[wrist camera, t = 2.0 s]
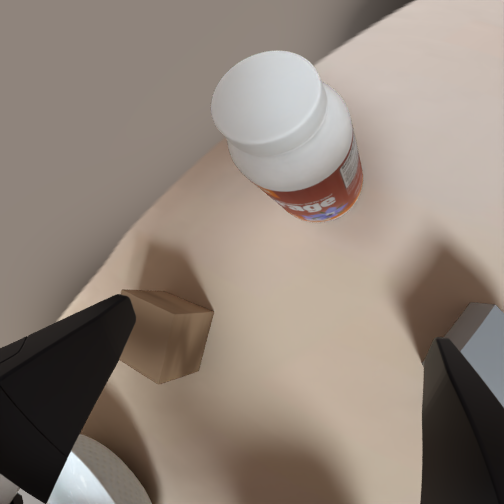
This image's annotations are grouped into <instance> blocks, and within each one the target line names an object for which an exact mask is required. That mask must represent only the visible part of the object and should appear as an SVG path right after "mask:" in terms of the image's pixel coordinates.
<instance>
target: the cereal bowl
mask: <svg viewBox="0 0 504 504" xmlns="http://www.w3.org/2000/svg"><path fill="white" fill-rule="evenodd" d="M48 503H49V504H152V503H151V501H150V498H149V497H148V494H147V493H146V491H145V489H144V488H143V486H142V485H141V483H140V482H139V480H138V479H137V478H136V476H135V475H134V474H133V472H132V471H131V470H130V469H129V468H128V467H127V465H126V464H125V463H124V462H123V461H122V460H121V459H120V458H119V457H118V456H117V455H116V454H114V453H113V452H112V451H111V450H110V449H108V448H107V447H106V446H104V445H102V444H101V443H99V442H98V441H95V440H94V439H92V438H90V437H88V436H85V435H83V434H79V436H78V438H77V440H76V442H75V444H74V446H73V448H72V450H71V452H70V454H69V456H68V458H67V461H66V463H65V465H64V467H63V469H62V471H61V474H60V476H59V478H58V480H57V482H56V484H55V487H54V489H53V491H52V493H51V495H50V498H49V500H48Z"/></svg>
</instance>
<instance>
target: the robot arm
mask: <svg viewBox="0 0 504 504" xmlns="http://www.w3.org/2000/svg"><path fill="white" fill-rule="evenodd" d="M135 323H136V314H135V311H134V308H133V305H132V302H131V299H130V298H129V297H128V296H125V295H121V294H117V295H114V296H112V297H110V298H108V299H106V300H103V301H101V302H99V303H97V304H95V305H93V306H90V307H88V308H86V309H84V310H82V311H80V312H77V313H75V314H73V315H71V316H69V317H67V318H65V319H62V320H60V321H58V322H56V323H54V324H52V325H50V326H48V327H46V328H43V329H41V330H39V331H37V332H35V333H33V334H31V335H29V336H28V337H27V336H26V337H24V338H22V339H20V340H18V341H16V342H13V343H11V344H9V345H7V346H5V347H2V348H0V504H23V500H22V496H21V495H20V494H19V493H18V491H19V489H20V488H21V489H23V490H24V491H25V492H27V493H29V494H30V495H32V496H33V497H35V498H36V499H38V500H40V501H41V502H43V503H45V504H46V503H47V502H48V500H49V498H50V495H51V493H52V491H53V489H54V487H55V484H56V482H57V480H58V478H59V476H60V474H61V471H62V469H63V467H64V465H65V463H66V461H67V458H68V456H69V454H70V452H71V450H72V448H73V446H74V444H75V442H76V440H77V438H78V436H79V434H80V432H81V430H82V428H83V426H84V424H85V422H86V420H87V419H88V417H89V415H90V413H91V411H92V409H93V407H94V405H95V403H96V401H97V400H98V398H99V396H100V394H101V392H102V390H103V388H104V387H105V385H106V383H107V381H108V379H109V377H110V376H111V374H112V372H113V370H114V368H115V367H116V365H117V363H118V361H119V359H120V357H121V354H122V352H123V350H124V348H125V345H126V343H127V341H128V338H129V336H130V334H131V332H132V330H133V327H134V325H135ZM422 442H423V456H422V488H421V503H420V504H504V407H503V406H502V404H501V403H500V402H499V400H498V399H497V398H496V396H495V395H494V394H493V392H492V391H491V390H490V388H489V387H488V386H487V384H486V383H485V382H484V381H483V379H482V378H481V377H480V375H479V374H478V373H477V372H476V370H475V369H474V368H473V367H472V365H471V364H470V363H469V362H468V360H467V359H466V358H465V357H464V355H463V354H462V353H461V352H460V351H459V349H458V348H457V347H456V346H455V345H454V343H453V342H452V341H451V340H450V339H449V338H444V337H436V338H435V339H434V340H433V342H432V344H431V346H430V349H429V351H428V353H427V356H426V358H425V362H424V384H423V404H422Z"/></svg>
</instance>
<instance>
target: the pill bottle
mask: <svg viewBox="0 0 504 504" xmlns="http://www.w3.org/2000/svg"><path fill="white" fill-rule="evenodd" d="M211 115H212V119H213V122H214V124H215V126H216V127H217V128H218V130H219V131H220V133H221V134H222V135H223V136H224V137H225V138H226V139H227V143H228V148H229V152H230V155H231V157H232V160H233V162H234V163H235V165H236V166H237V168H238V169H239V170H240V171H241V172H242V173H243V174H244V175H245V176H246V177H247V178H248V179H249V180H250V181H251V182H253V183H254V184H255V185H256V186H258V187H259V188H260V189H261V190H263V191H264V192H265V193H266V194H267V195H269V196H270V197H271V198H272V199H273V200H275V201H276V202H277V203H278V204H279V205H281V206H282V207H283V208H284V209H285V210H286V211H288V212H289V213H290V214H291V215H293V216H295V217H296V218H299V219H301V220H303V221H307V222H312V223H322V222H328V221H331V220H334V219H337V218H339V217H341V216H342V215H344V214H345V213H347V212H348V211H349V210H350V209H351V208H352V207H353V206H354V204H355V203H356V201H357V200H358V198H359V195H360V193H361V190H362V184H363V174H362V168H361V162H360V157H359V153H358V148H357V143H356V139H355V134H354V129H353V125H352V120H351V117H350V113H349V110H348V108H347V106H346V104H345V102H344V100H343V99H342V97H341V96H340V95H339V94H338V93H337V92H336V91H335V90H334V89H333V88H332V87H331V86H329V85H328V84H326V83H324V82H322V81H321V78H320V76H319V74H318V72H317V70H316V69H315V67H314V66H313V65H312V64H311V63H310V62H309V61H308V60H307V59H305V58H303V57H302V56H300V55H297V54H295V53H291V52H287V51H268V52H263V53H259V54H255V55H253V56H250V57H248V58H246V59H244V60H242V61H240V62H239V63H238V64H236V65H235V66H233V67H232V68H231V69H230V70H229V71H228V72H227V73H226V74H225V75H224V76H223V77H222V79H221V80H220V81H219V83H218V85H217V86H216V88H215V91H214V93H213V97H212V101H211Z"/></svg>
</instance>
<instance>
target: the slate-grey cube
mask: <svg viewBox="0 0 504 504" xmlns="http://www.w3.org/2000/svg"><path fill="white" fill-rule="evenodd" d="M444 338H449V339H450V340H451V341H452V342H453V343H454V345H455V346H456V347H457V348H458V349H459V351H460V352H461V353H462V354H463V355H464V357H465V358H466V359H467V360H468V362H469V363H470V364H471V365H472V367H473V368H474V369H475V370H476V372H477V373H478V374H479V375H480V377H481V378H482V379H483V381H484V382H485V383H486V384H487V386H488V387H489V388H490V390H491V391H492V392H493V394H494V395H495V396H496V398H497V399H498V400H499V402H500V403H501V404H502V406H503V407H504V313H503V312H502V311H501V310H500V309H499V308H498V307H497V306H496V305H495V304H484V303H474V302H470V304H469V305H468V306H467V308H466V309H465V310H464V312H463V313H462V314H461V316H460V317H459V318H458V320H457V321H456V322H455V324H454V325H453V326H452V327H451V329H450V330H449V331H448V332H447V334H446V335H445V336H444ZM424 362H425V360H424V361H423V362H422V365H423V367H424Z"/></svg>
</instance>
